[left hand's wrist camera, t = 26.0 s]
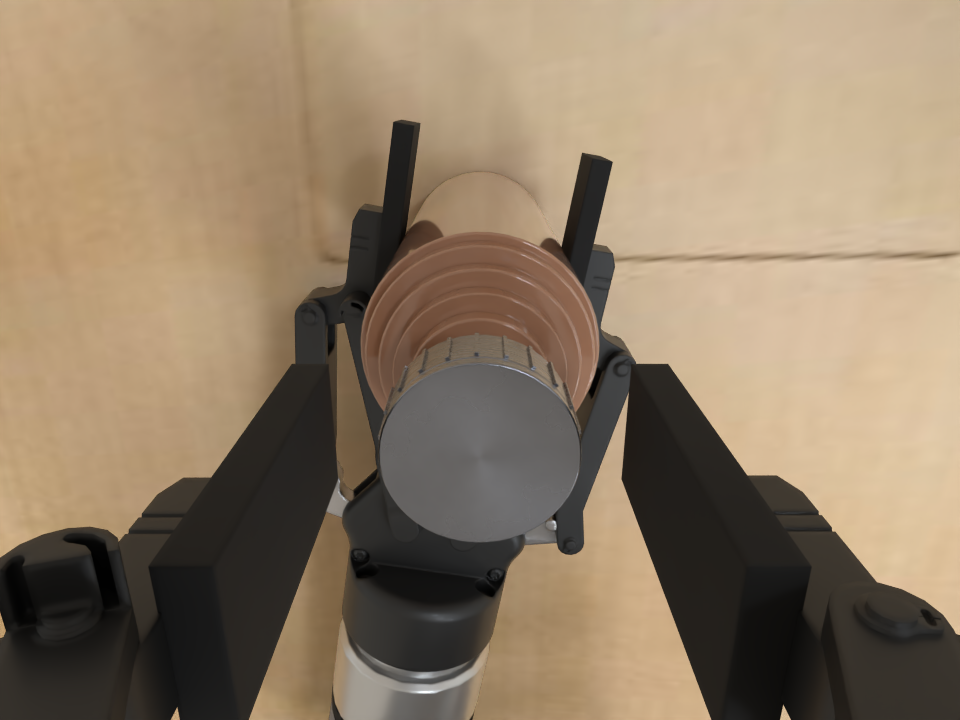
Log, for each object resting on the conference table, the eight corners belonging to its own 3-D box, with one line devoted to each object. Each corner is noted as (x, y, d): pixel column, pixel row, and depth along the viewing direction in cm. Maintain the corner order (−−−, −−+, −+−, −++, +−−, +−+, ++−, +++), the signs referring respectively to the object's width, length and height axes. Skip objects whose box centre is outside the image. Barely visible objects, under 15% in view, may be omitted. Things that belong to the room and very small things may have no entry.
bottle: (518, 321, 35) (567, 604, 15) (396, 279, 34) (284, 520, 15) (567, 199, 33) (696, 347, 13) (437, 151, 32) (371, 232, 12)
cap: (602, 456, 15) (616, 498, 13) (439, 525, 16) (435, 573, 14) (525, 299, 14) (531, 324, 12) (351, 381, 14) (335, 415, 13)
